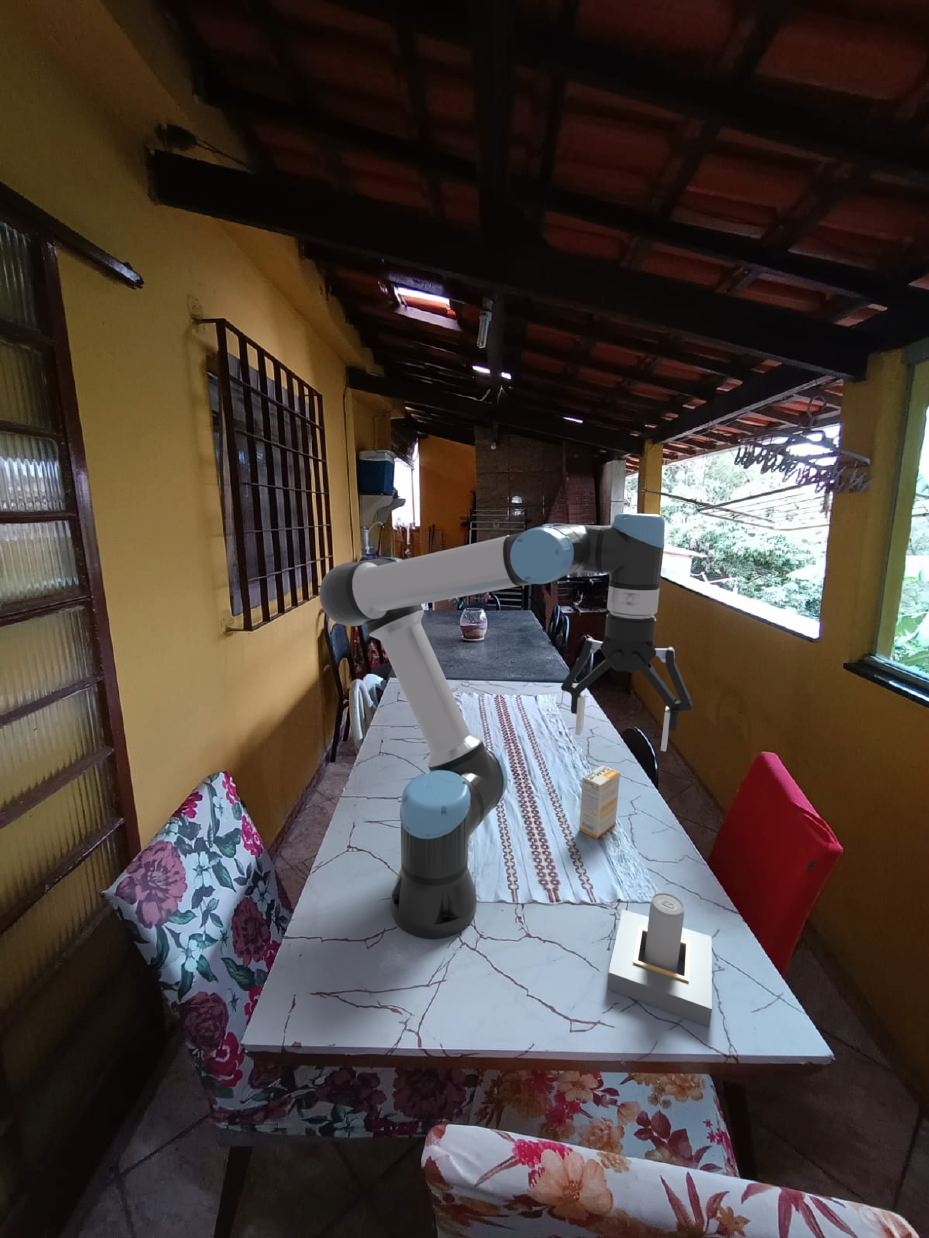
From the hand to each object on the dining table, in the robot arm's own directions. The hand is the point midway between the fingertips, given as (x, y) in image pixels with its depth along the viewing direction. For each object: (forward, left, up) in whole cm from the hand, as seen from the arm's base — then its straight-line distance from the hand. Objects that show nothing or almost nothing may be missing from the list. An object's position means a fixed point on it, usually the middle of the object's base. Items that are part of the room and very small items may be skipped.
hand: (620, 739), depth 89 cm
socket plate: (+10, -9, -33) cm, 35 cm away
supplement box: (-6, +25, -33) cm, 42 cm away
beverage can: (+10, -9, -33) cm, 36 cm away
